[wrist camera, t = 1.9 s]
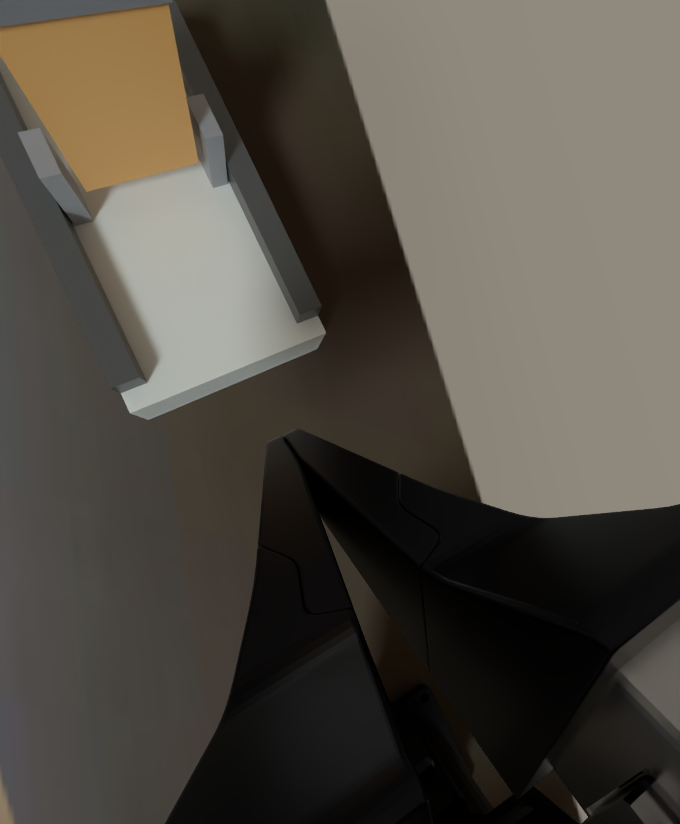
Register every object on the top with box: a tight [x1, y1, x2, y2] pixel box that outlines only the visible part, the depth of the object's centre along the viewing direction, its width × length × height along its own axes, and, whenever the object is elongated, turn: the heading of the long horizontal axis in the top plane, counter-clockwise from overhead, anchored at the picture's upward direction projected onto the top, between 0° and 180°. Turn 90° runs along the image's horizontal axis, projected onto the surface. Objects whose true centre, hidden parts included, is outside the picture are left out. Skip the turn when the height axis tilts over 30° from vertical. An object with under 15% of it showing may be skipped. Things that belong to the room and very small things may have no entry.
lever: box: [0, 0, 199, 192], centre depth 13 cm, size 2×5×8 cm, turn 116°
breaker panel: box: [0, 0, 326, 420], centre depth 18 cm, size 20×10×6 cm, turn 26°
